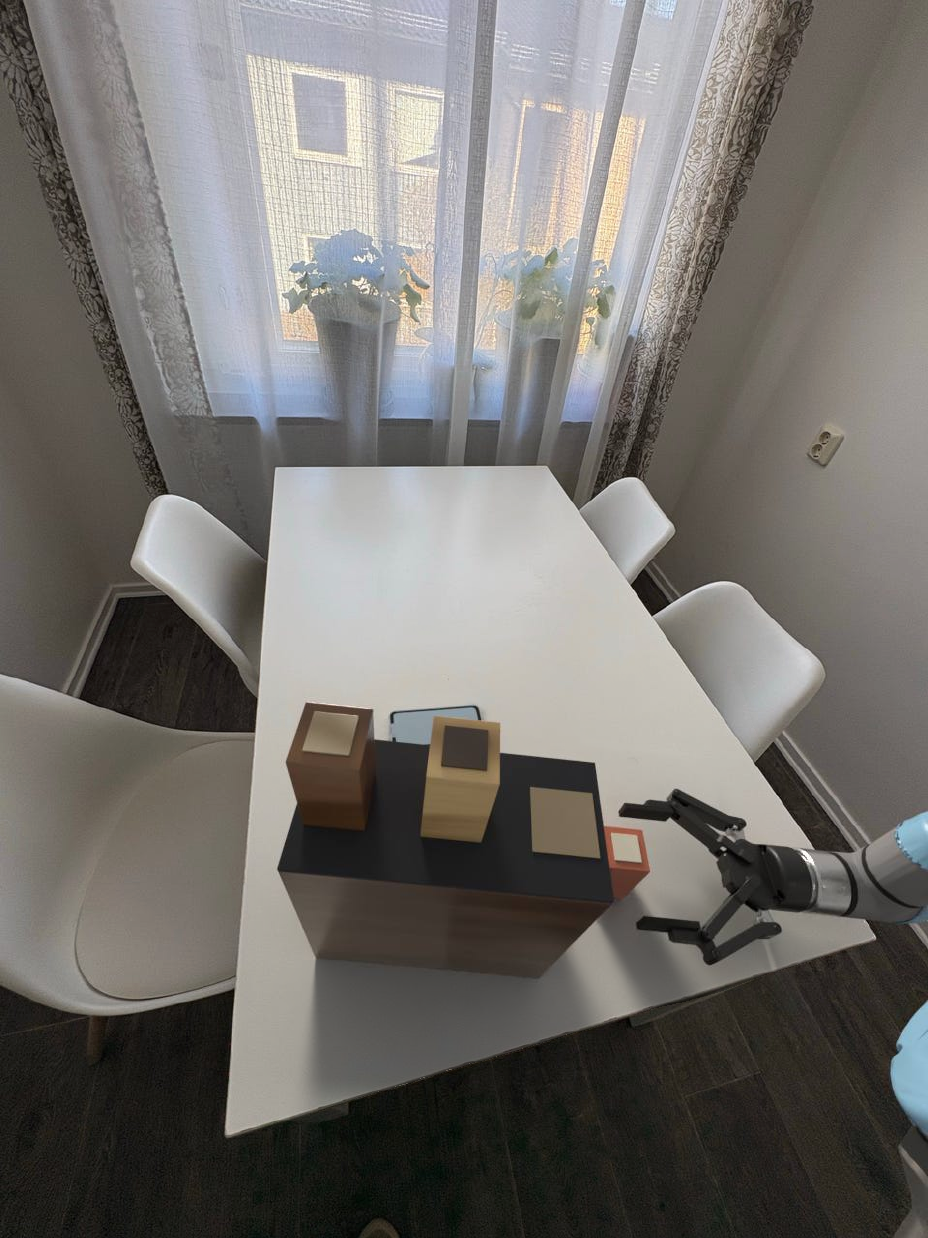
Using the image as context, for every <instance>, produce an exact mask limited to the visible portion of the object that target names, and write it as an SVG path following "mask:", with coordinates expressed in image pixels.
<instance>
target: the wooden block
mask: <svg viewBox="0 0 928 1238" xmlns="http://www.w3.org/2000/svg"><path fill="white" fill-rule="evenodd" d="M374 719H375V718H374V709H373V708H368V707H367V708H366V707H360V706H349V705H340V704H330V703H322V702H311V701H305V703H304V707H303V710H302V712H301V715H300V718H299V720H298V724H297V727H296V730H295V733H294V735H293V738H292V741H291V745H290V748H289V750H288V754H287V756H286V759H285V765H286V769H287V771H288V773H287V774H288V776H289V779H290V783H291V786H292V787H291V788H292V790H293V793H294V794H293V795H294V797H295V801H296V805H297V804H298V808H299V811H300V815H301V818H302V822H303V825H311V826H321V827H331V828H341V829H351V830H361V831H365V828H366V823H367V817H368V812H369V807H370V802H371V797H372V792H373V787H374V782H375V777H376V766H375V742H374V739H375V722H374V721H375V720H374Z"/></svg>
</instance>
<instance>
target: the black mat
mask: <svg viewBox="0 0 928 1238" xmlns="http://www.w3.org/2000/svg"><path fill="white" fill-rule="evenodd" d="M374 742H375V766H376V777H375V782H374V787H373V792H372V797H371V802H370V807H369V812H368V817H367V823H366V828H365V831H361V830H351V829H341V828H331V827H321V826H311V825H303V822H302V818H301V815H300V811H299V808H298V804H297V803H296V805H295V808H294V811H293V815H292V817H291V821H290V825H289V828H288V831H287V834H286V837H285V841H284V844H283V848H282V851H281V854H280V858H279V861H278V864H277V868H276V871H277V872H278V871H282V872H292V873H303V874H313V875H323V876H333V877H344V878H354V879H364V880H374V881H385V882H395V883H405V884H416V885H426V886H436V887H446V888H457V889H467V890H477V891H487V892H498V893H508V894H518V895H528V896H539V897H549V898H559V899H569V900H580V901H590V902H600V903H610V904H612V905H613V904H614V903H615V898H614V897H613V889H612V882H611V875H610V867H609V860H608V853H607V846H606V838H605V831H604V826H605V825H604V818H603V811H602V810H603V809H602V804H601V802H602V801H601V796H600V789H599V781H598V773H597V767H596V762H591V761H583V760H573V759H564V758H554V757H545V756H535V755H527V754H517V753H507V752H500V785H499V788H498V791H497V794H496V797H495V801H494V804H493V807H492V810H491V813H490V816H489V819H488V823H487V826H486V829H485V832H484V835H483V838H482V842H481V843H480V842H470V841H460V840H450V839H440V838H430V837H421V836H420V834H421V825H422V815H423V805H424V795H425V785H426V776H427V767H428V759H429V751H430V745H423V744H414V743H405V742H395V741H391V740H387V739H386V740H384V739H376V738H374Z"/></svg>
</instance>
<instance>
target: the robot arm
mask: <svg viewBox="0 0 928 1238" xmlns="http://www.w3.org/2000/svg"><path fill="white" fill-rule="evenodd" d="M617 813H618V817H619V818H626V819H637V820H645V821H656V822H664V823H665V822H668V820H669V819H671V821H673V822H674V823H676V824H677V825H678V826H679V827H681V828H682V829H683V830H685V831H686V832H687V833H688V834H690V835H691V836H692V837H693V838H695V839H696V840H697V841H699V842H700V843H701V844H702V845H703V846H704V847H706V848H707V849H708V852H709V853H710V854H711V855H712V856H714V857H715V858H716V859H717V860H716V866H717V869H718V870H719V874H720V875H721V876H720V877H721V883H722V884H721V885H722V888H725V890H726V891H727V893H729V895H728V896H727V897H726V898H725V899H724V900H723V902H722V903H721V905H720V906H719V907H718V909H716V910H715V912H713V914H712V915H711V916H710V917H709V919H708V920H707V921H705V923H704V924H703V925H702V926H701V922H700V921H698V920H690V919H689V920H688V919H680V918H670V917H669V918H668V917H660V916H649V915H643V916H642V917H640V918H639V919H637V921H636V922H635V926H636V930H637V931H646V932H655V933H656V932H657V933H665V934H667V938H668V941H669V942H671V943H673V944H681V945H682V944H683V945H690V946H696V947H697V948H698V949H699V950H700V952H701V954H702V960H703V962H704V964H706V965H707V966H713V965H715V964H717V963H719V962H720V961H723V960H724V959H726V958H728V957H730V956H731V955H733V954H735V953H736V952H737V951H739V950H741V949H744V948H745V947H746V946H749V945H750V944H751V943H753V942H755V941H756V940H771V939H772V938H774V937H776V936H778V935H781V933H782V932H783V928H782V926H781V924H779V923H778V922H776V921H774V919H773V917H772V914H771V911H777V912H785V913H786V912H787V913H797V914H799V913H802V914H809V915H819V916H827V917H837V918H848V919H857V920H864V921H872V922H873V921H874V922H882V923H883V922H884V923H886V924H893V925H904V924H914V925H915V924H922V923H926V922H927V921H928V810H927V811H925V812H921V813H919V814H917V815H915V816H913V817H911V818H909V819H905V820H903V821H902V822H900V823H899V824H898V825H896V826H895V827H894V828H893V829H891V830H889V831H888V832H886V833H884V834H883V835H882V836H880V837H878V838H877V839H876V840H874V841H872V842H870V843H868V844H866V845H865V846H863V847H861V848H859V849H857V850H856V851H853V852H842V851H830V850H821V849H820V850H819V849H813V848H812V849H811V848H804V847H799V846H798V847H793V846H792V847H791V846H786V845H785V846H784V845H777V844H767V843H766V844H765V843H763V844H762V843H753V842H750V841H749V840H747V839H746V835H745V830H744V829H745V828H746V827H747V821H746V820H745V819H744V818H742V817H738V816H734V815H728V814H726V813H725V812H723V811H721V810H719V809H717V808H715V807H713V806H711V805H710V804H707V803H706V802H703V801H702V800H700V799H698V798H696V797H694V796H692V795H691V794H689V793H687V792H685V791H683V790H681V789H679V788H674V789H673V790H672V791H671V792H670V793H669V795H668V796H667V797H666V800H656V799H646V800H645V801H644V803H642V804H641V803H633V802H632V803H631V802H624V803H623V804H622V806H621V807H620V808H619V809H618V812H617ZM716 830H718V831H720V832H723V833H724V834H720V833H719V832H717V831H716ZM729 837H731V838H733V840H734V841H733V840H732V839H730V838H729ZM722 848H724V849H725V850H723V849H722ZM743 905H745V906H746V907H747V908H749V909H750V910H751V911H753V912H755V913H757V917H755V918H754V919H753V920H752V926H751V927H749V928H747V929H745V930H743V931H742V932H740V933H738V934H737V935H734V936H733V937H731V938H729V939H728V940H726V941H724V942H722V943H721V944H719V945H716V943H715V941H714V940H716V939H715V937H716V936H717V935H718V934H719V933H720V932H721V930H722V929H723V928H724V927H725V926H726V924H727V923H728V922H729V921H730V920H731V919H732V918H733V916H734V915H735V914H736V913H737V912H738V910H739V909H740V908H741V907H742V906H743ZM895 1046H896V1050H897V1052H898V1053H897V1054H896V1055H894V1056H893V1057H892V1058H891V1061H890V1081H891V1086H892V1087H891V1088H892V1090H893V1092H894V1095H895V1098H896V1100H897V1102H898V1103H899V1105H900V1106H901V1108H902V1110H903V1112H904V1113H905V1116H906V1117H907V1118H908V1120H909V1121H910V1123H911V1124H912V1125H911V1126H910V1128H909V1129H908V1131H907V1133H906V1134H905V1135H904V1137H903V1138H902V1140H901V1141H900V1143H899V1144H898V1146H897V1151H898V1155H899V1157H900V1161H901V1165H902V1168H903V1172H904V1174H905V1178H906V1181H907V1185H908V1188H909V1191H910V1200H911V1208H910V1210H909V1211H908V1214H907V1215H906V1217H905V1218H904V1219H903V1221H902V1223H901V1224H900V1226H899V1228H898V1229H897V1230H896V1232H895V1233H894V1235H893V1237H892V1238H928V1000H926V1002H925V1003H924V1004H923V1005H922V1006H921V1007H920V1008H919V1009H917V1010H916V1012H915V1013H914V1014H913V1015H912V1017H911V1018H910V1019H909V1021H908V1022H907V1024H906V1025H905V1027H904V1028H903V1030H902V1031H901V1033H900V1036H899V1037H898V1040H897V1041H896V1045H895Z"/></svg>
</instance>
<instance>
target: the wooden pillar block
mask: <svg viewBox="0 0 928 1238" xmlns="http://www.w3.org/2000/svg"><path fill="white" fill-rule="evenodd" d="M500 753H501V722H497V721H490V720H483V721H481V720H471V719H462V718H453V717H444V716H434V717H433V726H432V734H431V742H430V751H429V759H428V767H427V776H426V785H425V795H424V805H423V815H422V825H421V834H420V836H421V837H430V838H440V839H450V840H460V841H470V842H480V843H481V842H482V838H483V835H484V832H485V829H486V826H487V823H488V819H489V816H490V813H491V810H492V807H493V804H494V801H495V797H496V794H497V791H498V788H499V785H500Z"/></svg>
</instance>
